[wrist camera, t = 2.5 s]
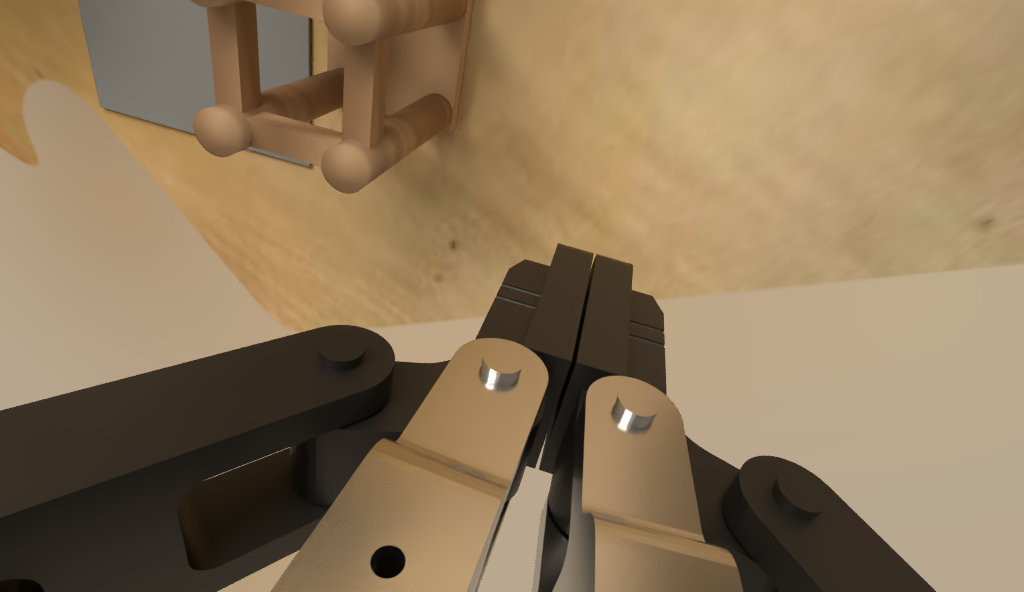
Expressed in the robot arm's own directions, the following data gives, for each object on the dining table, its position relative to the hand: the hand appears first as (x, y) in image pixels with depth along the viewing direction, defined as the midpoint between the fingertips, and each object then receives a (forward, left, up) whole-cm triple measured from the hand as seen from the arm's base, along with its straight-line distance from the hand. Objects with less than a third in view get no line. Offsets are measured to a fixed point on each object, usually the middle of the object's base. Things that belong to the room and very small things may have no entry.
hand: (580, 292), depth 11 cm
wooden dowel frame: (+12, 0, -19) cm, 23 cm away
